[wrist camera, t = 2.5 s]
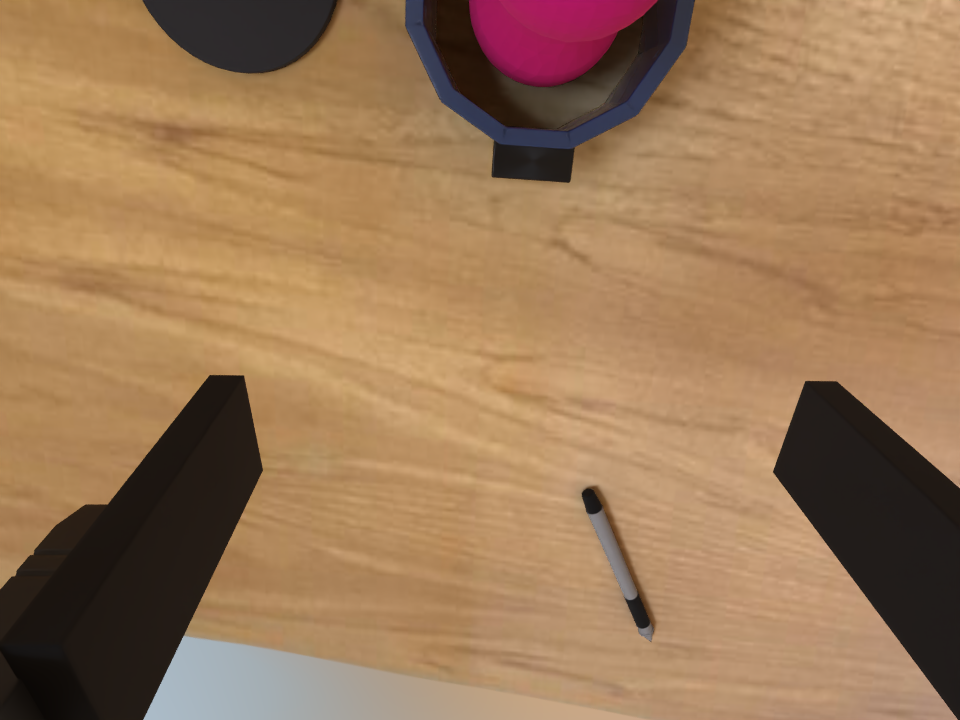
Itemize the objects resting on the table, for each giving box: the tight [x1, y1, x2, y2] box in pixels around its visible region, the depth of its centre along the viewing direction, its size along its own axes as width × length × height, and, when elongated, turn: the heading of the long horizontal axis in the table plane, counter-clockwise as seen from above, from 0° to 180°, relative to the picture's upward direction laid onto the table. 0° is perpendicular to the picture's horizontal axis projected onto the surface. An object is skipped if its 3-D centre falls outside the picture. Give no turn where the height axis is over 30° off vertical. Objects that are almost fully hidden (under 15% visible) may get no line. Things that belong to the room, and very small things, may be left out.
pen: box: [582, 489, 654, 641], centre depth 44 cm, size 1×16×1 cm, turn 23°
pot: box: [405, 0, 695, 183], centre depth 27 cm, size 13×16×6 cm
